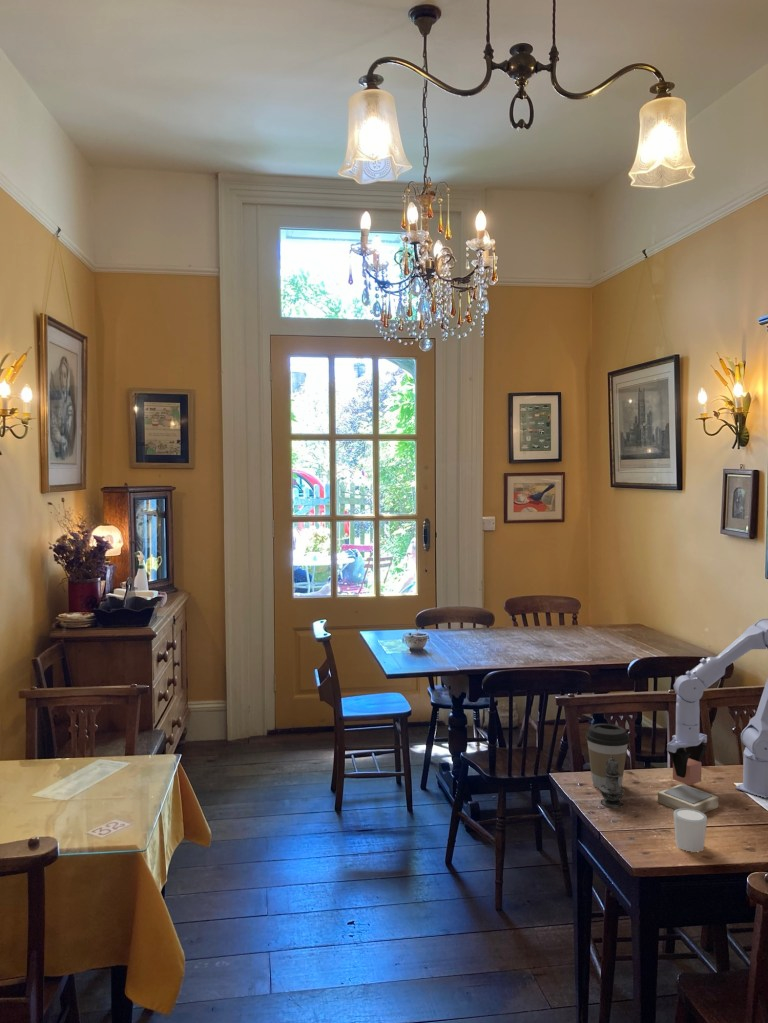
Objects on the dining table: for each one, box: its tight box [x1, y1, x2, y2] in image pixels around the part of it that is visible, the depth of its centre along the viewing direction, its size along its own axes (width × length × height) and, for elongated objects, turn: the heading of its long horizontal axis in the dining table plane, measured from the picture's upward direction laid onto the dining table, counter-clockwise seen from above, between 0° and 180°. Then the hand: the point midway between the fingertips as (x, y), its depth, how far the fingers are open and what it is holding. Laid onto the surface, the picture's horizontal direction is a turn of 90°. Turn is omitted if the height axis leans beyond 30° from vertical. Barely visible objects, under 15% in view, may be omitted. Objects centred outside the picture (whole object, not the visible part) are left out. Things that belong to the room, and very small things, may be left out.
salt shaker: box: [599, 755, 625, 809], centre depth 184 cm, size 6×6×12 cm
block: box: [672, 758, 702, 786], centre depth 194 cm, size 5×5×5 cm
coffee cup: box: [584, 723, 631, 790], centre depth 195 cm, size 11×11×15 cm
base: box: [657, 783, 720, 814], centre depth 183 cm, size 10×10×3 cm
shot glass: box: [673, 809, 708, 853], centre depth 162 cm, size 7×7×7 cm
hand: (687, 774), depth 195 cm, fingers closed on block, 5 cm apart
